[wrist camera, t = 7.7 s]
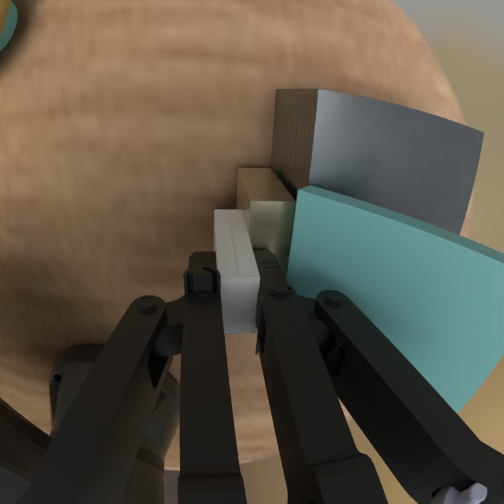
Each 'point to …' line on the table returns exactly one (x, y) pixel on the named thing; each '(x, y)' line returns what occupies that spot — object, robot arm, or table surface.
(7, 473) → the robot arm
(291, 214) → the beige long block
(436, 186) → the grey block
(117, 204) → the table surface
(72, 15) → the table surface
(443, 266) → the teal rectangular plate
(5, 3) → the cupcake
